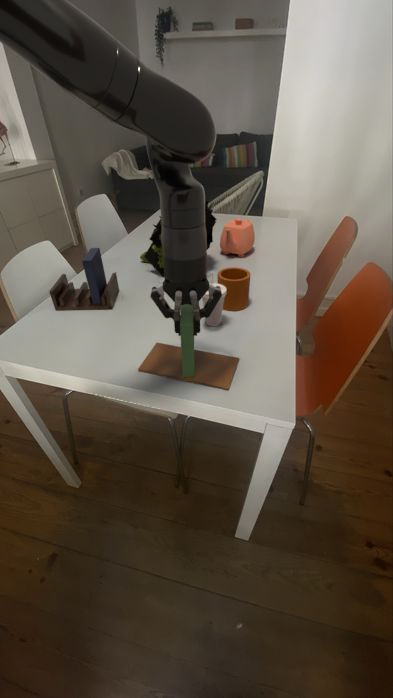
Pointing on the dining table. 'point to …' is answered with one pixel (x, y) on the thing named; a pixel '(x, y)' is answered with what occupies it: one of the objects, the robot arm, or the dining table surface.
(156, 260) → the potted plant
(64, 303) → the book rack
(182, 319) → the green book
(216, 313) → the smoothie
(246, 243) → the teapot
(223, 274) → the mug
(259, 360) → the dining table surface
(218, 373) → the brown wooden board
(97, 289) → the navy book
